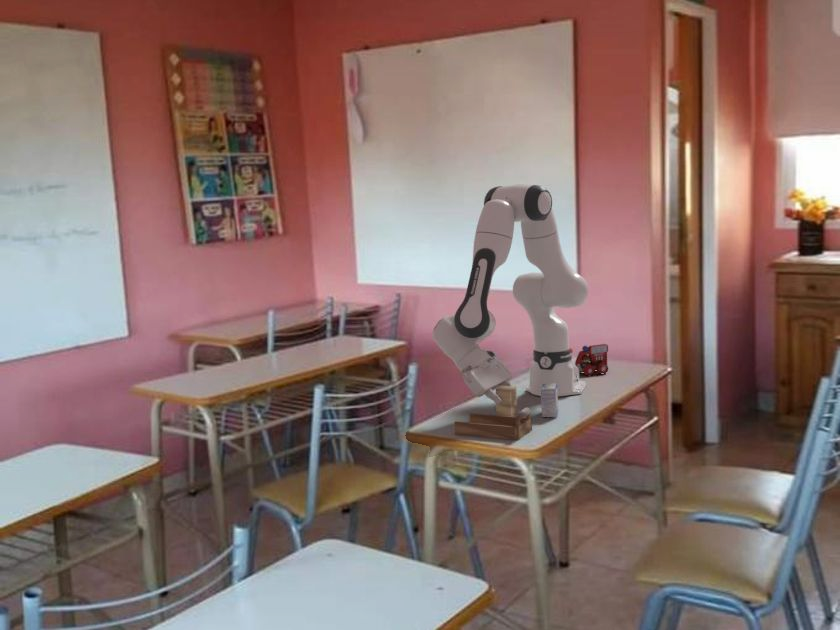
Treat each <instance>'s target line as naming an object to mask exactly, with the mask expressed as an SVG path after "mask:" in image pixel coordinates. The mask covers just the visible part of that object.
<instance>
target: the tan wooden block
mask: <svg viewBox="0 0 840 630" xmlns="http://www.w3.org/2000/svg"><path fill="white" fill-rule="evenodd" d="M495 394H496V395H498V396H500V397H501V398H502V399H503V401H502V402H501V403H499V404H496V403H495V406H496V408H495V409H496V415H500V416H513V417H515V415H516V413H518V399H517V396H518V395H517V385H516V386H515V385H513V386H512V385H511V386H500V387H498V388H496V389H495Z"/></svg>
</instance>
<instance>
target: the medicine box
mask: <svg viewBox="0 0 840 630" xmlns="http://www.w3.org/2000/svg"><path fill="white" fill-rule="evenodd" d="M540 403H541V404H540V406H541V407H540V408H541V417H542V418H543V417H548V418H547V419H549V417H553V419H554V418H555V417H557V418H558V413H559V396H558V391H557V383H546V384H543V385H542V388H541V396H540ZM555 419H556V418H555Z"/></svg>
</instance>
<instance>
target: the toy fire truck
mask: <svg viewBox="0 0 840 630" xmlns="http://www.w3.org/2000/svg"><path fill="white" fill-rule="evenodd" d="M608 352H609V345H608V344H606V343H600V344H594V345H589V346H588V345H584V346H582V350H579V352H578V354H577V357H576V358H575V361H574V364H575V365H576V366H577V367H578V369H579V372H580V373H579V374H582V373H581V372H584V373H583V375H585V376H587V375H592V374H593V375H595V373H597V374H599V373H606V372H607V373H608V370H609V366H608ZM595 370H597V372H595ZM607 373H606V374H607ZM593 375H592V376H593Z"/></svg>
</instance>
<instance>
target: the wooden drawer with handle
mask: <svg viewBox="0 0 840 630" xmlns="http://www.w3.org/2000/svg"><path fill="white" fill-rule="evenodd" d="M531 412H532V411H531V408H530V407H524V408H523V409H521V410H519V411H517V413H516V415H515V417H513V416H500V415H497V414H489V413H487V414H485V413H474V412H470V413H469V415H468V416H469V422H467V421H454V425H453V426H454V435H456V434H459V436H467V435H468V437H469V436H471V437H479V438H480V437H481V438H489V439H490V438H491V439H499V438H501V439H502V440H510V439H515V440H514V441H519V440H521V439H522V438H523V437H525V436H527V435H528V434H529V433H531V432H532V431H533V418H532V417H531ZM531 430H532V431H531ZM530 431H531V432H530ZM527 433H528V434H527ZM524 435H525V436H524ZM501 439H500V440H501Z"/></svg>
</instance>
